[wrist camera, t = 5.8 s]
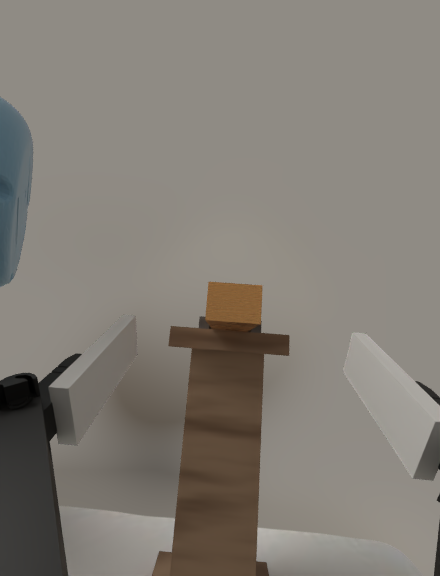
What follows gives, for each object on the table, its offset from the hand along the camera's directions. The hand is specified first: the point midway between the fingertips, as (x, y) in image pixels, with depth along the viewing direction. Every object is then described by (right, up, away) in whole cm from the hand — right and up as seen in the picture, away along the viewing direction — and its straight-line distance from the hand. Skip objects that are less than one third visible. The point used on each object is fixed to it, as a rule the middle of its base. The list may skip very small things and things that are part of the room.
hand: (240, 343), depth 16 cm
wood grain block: (0, -1, +12) cm, 12 cm away
